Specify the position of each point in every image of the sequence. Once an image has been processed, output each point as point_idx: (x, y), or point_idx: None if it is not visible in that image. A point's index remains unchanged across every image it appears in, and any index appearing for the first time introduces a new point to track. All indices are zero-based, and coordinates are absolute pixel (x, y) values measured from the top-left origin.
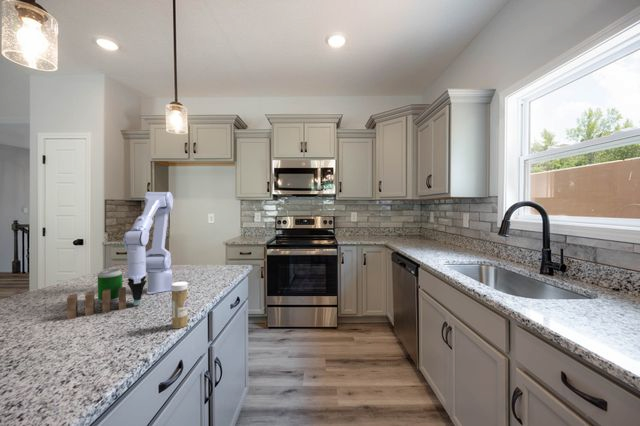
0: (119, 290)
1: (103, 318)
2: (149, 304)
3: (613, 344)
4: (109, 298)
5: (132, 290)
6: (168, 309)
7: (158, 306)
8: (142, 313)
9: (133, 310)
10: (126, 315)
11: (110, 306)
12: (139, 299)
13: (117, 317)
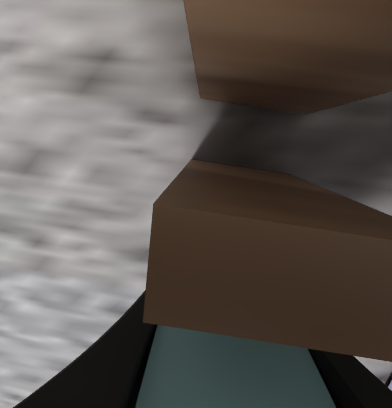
0: (172, 223)
1: (60, 37)
2: None
3: None
4: (195, 47)
5: (64, 380)
6: (9, 361)
7: (92, 343)
8: (17, 260)
9: (111, 232)
10: (33, 183)
11: (272, 104)
12: None
13: (25, 129)
